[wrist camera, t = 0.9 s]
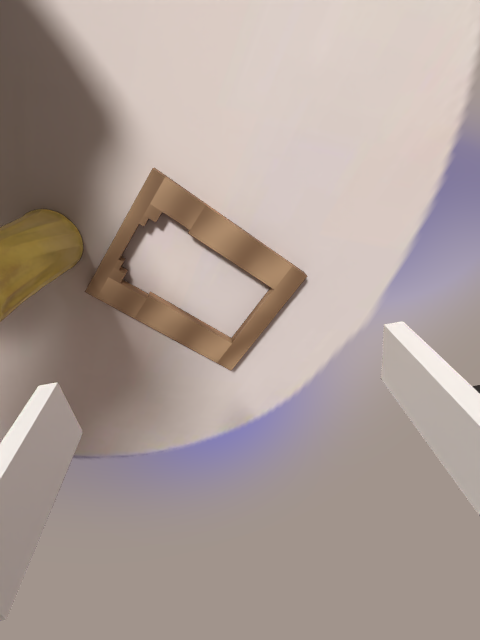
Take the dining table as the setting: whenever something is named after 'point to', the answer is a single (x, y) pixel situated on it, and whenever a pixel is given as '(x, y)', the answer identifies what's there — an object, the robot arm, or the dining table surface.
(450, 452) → the robot arm
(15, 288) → the vase
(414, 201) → the dining table surface
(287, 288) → the keyhole board
